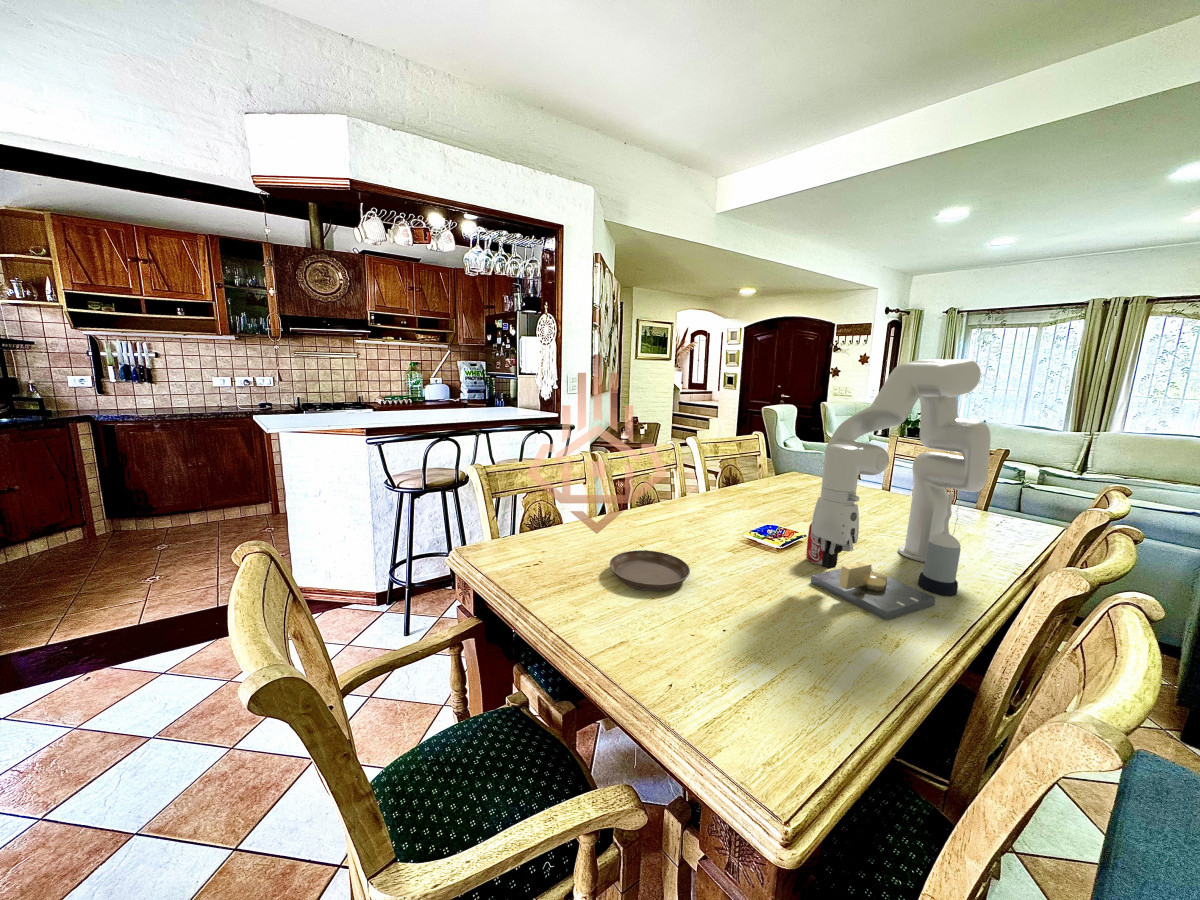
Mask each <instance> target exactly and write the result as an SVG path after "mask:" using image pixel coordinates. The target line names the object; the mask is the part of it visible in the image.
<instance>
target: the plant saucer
mask: <svg viewBox="0 0 1200 900" xmlns="http://www.w3.org/2000/svg"><path fill="white" fill-rule="evenodd" d="M609 568H610V570H611V571H612V573H613V574H614V575H615V577H616V578H617V579H618V580H619V581H621V582H622V583H623V584H625V585H627V586H629V587H631V588H633V589H637V590H642V591H649V592H659V591H660V592H661V591H667V590H671V589H674V588H676V587H678V586H679V585H681V584H682V583H684V582H685V581H686V579H687V578H688V577H689V575H690V574H691V568H690V567H689V565H688V564H687V563H686V562H685V561H684V560H682V559H680V558H679V557H677V556H674V555H672V554H668V553H665V552H661V551H655V550H641V549H639V550H638V549H637V550H629V551H625V552H620V553H618V554H616V555H614V556H613V557H612V558H611V559H610V561H609Z"/></svg>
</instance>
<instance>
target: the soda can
mask: <svg viewBox="0 0 1200 900" xmlns="http://www.w3.org/2000/svg"><path fill="white" fill-rule="evenodd" d="M808 526H809V527H808V534H807V542H806V556H805V557H806V559H807V560H808V561H811V562H810V563H813V564H815V565H817V566H818V565H819V566H822V556H823V551H822V550H821V545H820V543H819V542H818V541H817V540H816V539H814V538H813V537H812V534H813V533H812V530H811V528H812V522H811V523H810V524H809V525H808Z"/></svg>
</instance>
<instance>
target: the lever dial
mask: <svg viewBox="0 0 1200 900" xmlns="http://www.w3.org/2000/svg"><path fill="white" fill-rule="evenodd" d="M871 567H872V563H870V562H866V561H864V560H863V561H859V562H854V563H850V564H844V565H842V566H841V568H840V569H841V575H840V583H839V586H840V587H842V588H844V589H846V590H847V589H851V588H855V587H859V586H861V587H863V588H866V589H869V590H873V591H884V590H886V586H887V577H888V576H885V575H884V574H882V573H880V572H877V571H874V570H872V571H871ZM873 571H874V572H873Z"/></svg>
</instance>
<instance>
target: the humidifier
mask: <svg viewBox="0 0 1200 900" xmlns="http://www.w3.org/2000/svg"><path fill="white" fill-rule="evenodd" d="M948 495H949V499H948V505H947V516H946V518H945V521H944V531H943V532H942V533H939V534H936V535H933V536H932V537H930V539H929V541H928V545H927V552H926V558H925V562H924V565H923V571H922V572H920V573H919V576H918V582H917V586H918V587H919V588H920V589H921V590H922V591H926V593H927V592H928V593H929V594H933V595H936V594H937V596H942V597H955V596H956V595H958V594H957V593H958V589H959V582H958V581H957V580H956V578H957V573H958V567H959V561H960V555H961V546H962V545H961V543H960V541H959V540H958V539H957V538H956V537H955V536H954V534H955V532H956V531H955V530H956V525H957V522H958V520H959V516H958V514H956V517H957V519H956V521H955V524H954V528H953V529H954V530H953V533H952V534H951V533H950V531H949V530H950V529H949V522H950V520H951V517H952V505H953V496H954V493H951V492H950V493H948ZM960 501H961V497H959V499H958V502H960ZM959 507H960V503H958V505H957V509H956V511H958V510H959Z"/></svg>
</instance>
